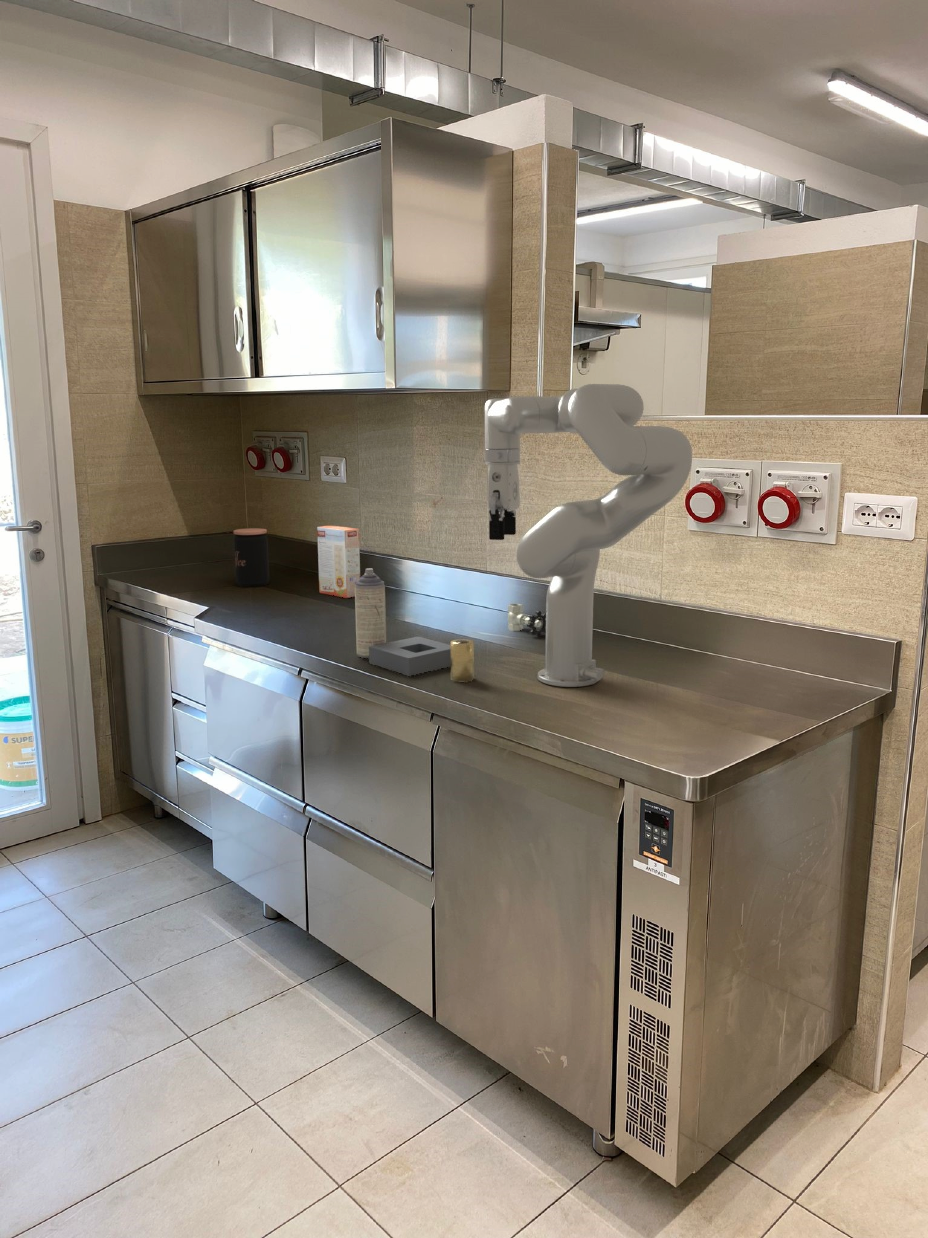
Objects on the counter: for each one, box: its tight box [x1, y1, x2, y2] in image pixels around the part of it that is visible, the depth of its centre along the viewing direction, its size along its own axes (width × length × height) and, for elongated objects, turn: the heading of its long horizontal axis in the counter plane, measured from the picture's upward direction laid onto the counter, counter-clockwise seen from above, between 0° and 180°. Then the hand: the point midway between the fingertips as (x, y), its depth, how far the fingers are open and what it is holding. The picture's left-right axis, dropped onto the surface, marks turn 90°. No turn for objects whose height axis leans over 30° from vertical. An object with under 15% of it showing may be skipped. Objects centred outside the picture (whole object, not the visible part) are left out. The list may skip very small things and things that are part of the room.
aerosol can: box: [354, 567, 387, 659], centre depth 209 cm, size 7×7×20 cm
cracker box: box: [316, 525, 361, 599], centre depth 282 cm, size 14×6×21 cm, turn 44°
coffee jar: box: [232, 527, 270, 588], centre depth 300 cm, size 11×11×18 cm
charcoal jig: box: [368, 636, 451, 677], centre depth 203 cm, size 14×14×4 cm
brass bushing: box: [449, 638, 475, 682], centre depth 191 cm, size 5×5×8 cm
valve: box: [506, 603, 546, 638], centre depth 233 cm, size 7×7×12 cm
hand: (502, 536), depth 202 cm, fingers open, 9 cm apart
